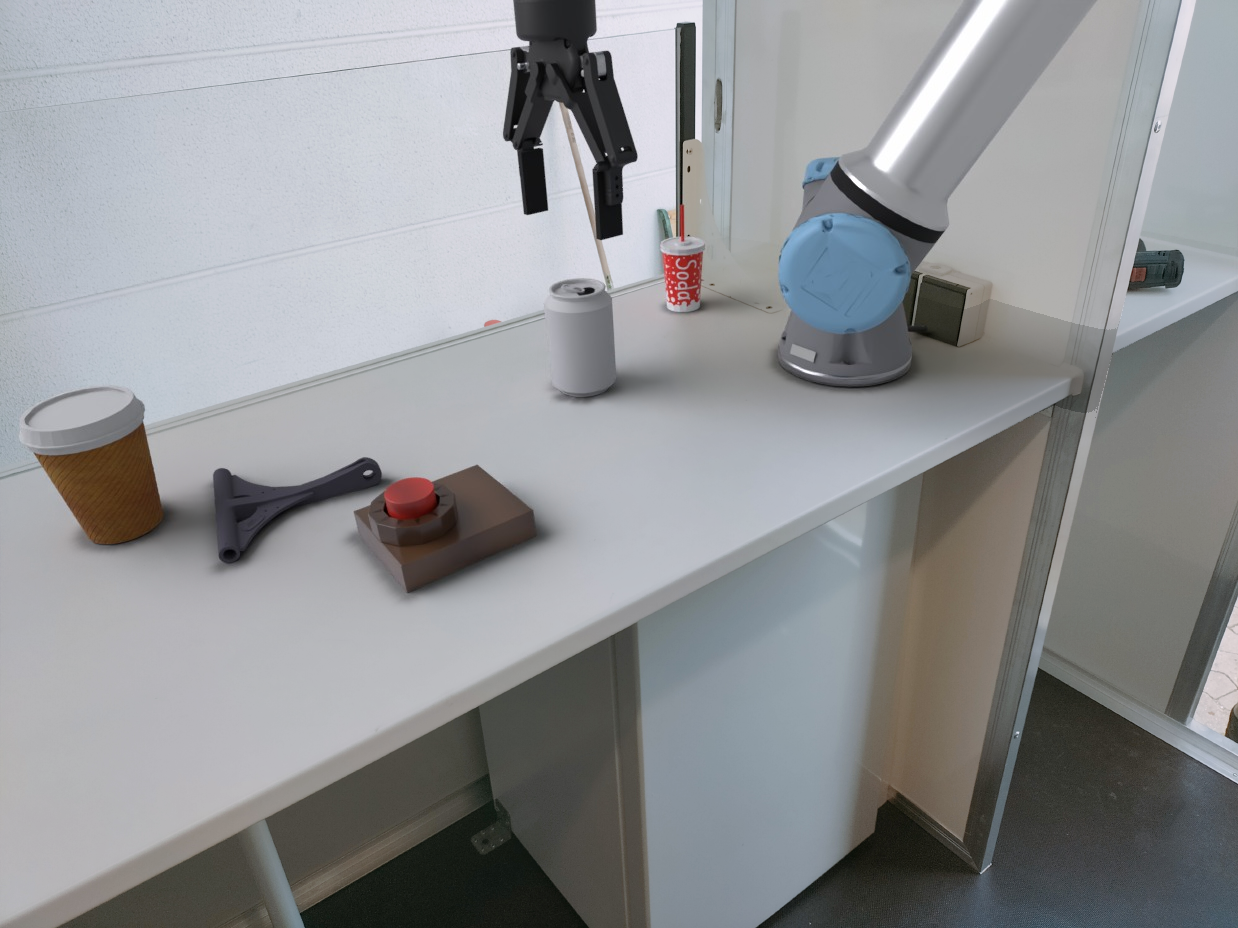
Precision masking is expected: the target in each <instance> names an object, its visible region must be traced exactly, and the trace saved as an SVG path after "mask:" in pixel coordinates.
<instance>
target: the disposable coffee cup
mask: <svg viewBox="0 0 1238 928" xmlns="http://www.w3.org/2000/svg"><path fill="white" fill-rule="evenodd" d="M145 407H146V406H145V404H144V402H143V401H142V400H141V399H139V398H137V396H136V395H135V393H134V392H133V391H132V390H131V389H130V388H127V387H125V386H122V385H121V386H120V385H114V384H113V385H110V384H105V385H104V384H103V385H92V386H87V387H81V388H77V389H73V390H68V391H65V392H62V393H59V394H55V395H53V396H50V397H48V398H45V399H43V400H41V401H39V402H37V403H36V404H34V405H31V406H30V407H29V408H28V409H26V410H25V411H24V412H23V413H22V414H21V415H20V417H19V420H18V422H19V433H18V440H19V443H21V444H22V445H23V446H24V447H26V449H28V450H29V451H30V452H31V453H33V455H34V456H35V458H36V460H37V461H38V463H39V464H40V466H41V467H42V469H43V471H44V472H45V473H46V475H47V477H48V478H49V479H50V481H51V483H52V484H53V486H54V487H55V489H56V490H57V492H58V494H59V495H60V496H61V498H62V500H63V501H64V503H65V504H66V506H67V507H68V509H69V511H70V512H71V513H72V515H73V517H74V518H75V519H76V521H77V523H78V524H79V525H80V528H81V529H82V530H83V532H84V533H85V535H86V536H87V538H88V539H89V541H91V542H92V543H95V544H99V545H116V544H120V543H125V542H129V541H131V540H135V539H137V538H139V537H141V536H144V535H145V534H147V533H149V532H151V531H153V529H154V528H156V527H157V526H158V525H159V524H160V523H161V522H162V521H163V518H164V510H163V505H162V502H161V496H160V492H159V487H158V482H157V477H156V473H155V469H154V468H155V467H154V465H153V464H154V463H153V459H152V455H151V450H150V446H149V441H148V436H147V432H146V426H145V423H144V419H145V411H146V408H145Z"/></svg>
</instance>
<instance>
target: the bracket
mask: <svg viewBox="0 0 1238 928" xmlns="http://www.w3.org/2000/svg"><path fill="white" fill-rule="evenodd" d="M367 471H372V472H371V473H369V474H365V473H366V472H367ZM382 476H383V472H382V469H381V467H380V465H379V463H378V461H376V460H375V459H373V458H371V457H367V456H363V457H360V458H358V459H357V460H355V461H353V462H351V463H350V464H348V465H346V466H343V467H342V468H339V469H337V470H335V471H333V472H330V473H328V474H326V475H325V476H321V477H319V478H316V479H313V480H311V481H307V482H304V483H302V484H297V485H288V486H270V485H264V484H257V483H254V482H250V481H247V480H245V479H244V478H241V477H240V476H238V475H237V474H232V472H231V471H230V470H229V469H228V468H224V467H220V468H217V469H215V470H214V471H213V473H212V482H213V483H212V484H213V495H214V509H215V525H216V536H217V537H216V539H217V551H218V552H217V553H218V558H219V560H220V561H221V562H223V563H224V564H225V563H226V564H232V563H235V562H236V561H238V560H239V558H240V556H241V552H245V550H246V549H247V548H248V546H249V544H250V543H251V542H252V540H253V538H254V537H255V536H256V535H257V534H258V533H259V531H260V530H262V528H263V527H264V526H265V525H267V524H268V523H269V522H270V521H272V520H273V519H274V518H275V517H276V516H278V515H279V514H281V513H282V512H284V511H286V510H288V509H290V508H294V507H298V506H302V505H306V504H310V503H314V502H319V501H322V500H326V499H330V498H333V497H337V496H341V495H345V494H349V493H353V492H357V491H361V490H365V489H369V488H372V487H374V486H376V485H377V484H378V483H380V482H381V480H382ZM237 521H240V522H237Z"/></svg>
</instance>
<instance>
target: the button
mask: <svg viewBox="0 0 1238 928" xmlns="http://www.w3.org/2000/svg"><path fill="white" fill-rule="evenodd" d="M384 491H385V493H384V497H385V501H386V506H387V510H388V514H389V515H390V517H392V518H396V519H400V520H403V519H413V518H418V517H421V516H423V515H426V514H428V513H431V512H432V511H433V510H434V509H435V508H436V507H437V500H436V495H435V490H434V485H433V483H432V480H429V479H427V478H425V477H417V476H416V477H413V476H412V477H406V478H402V479H399V480H396V481H395V482H393V483H391V484H390V485H388V486H387V487H386V489H385V490H384Z"/></svg>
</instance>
